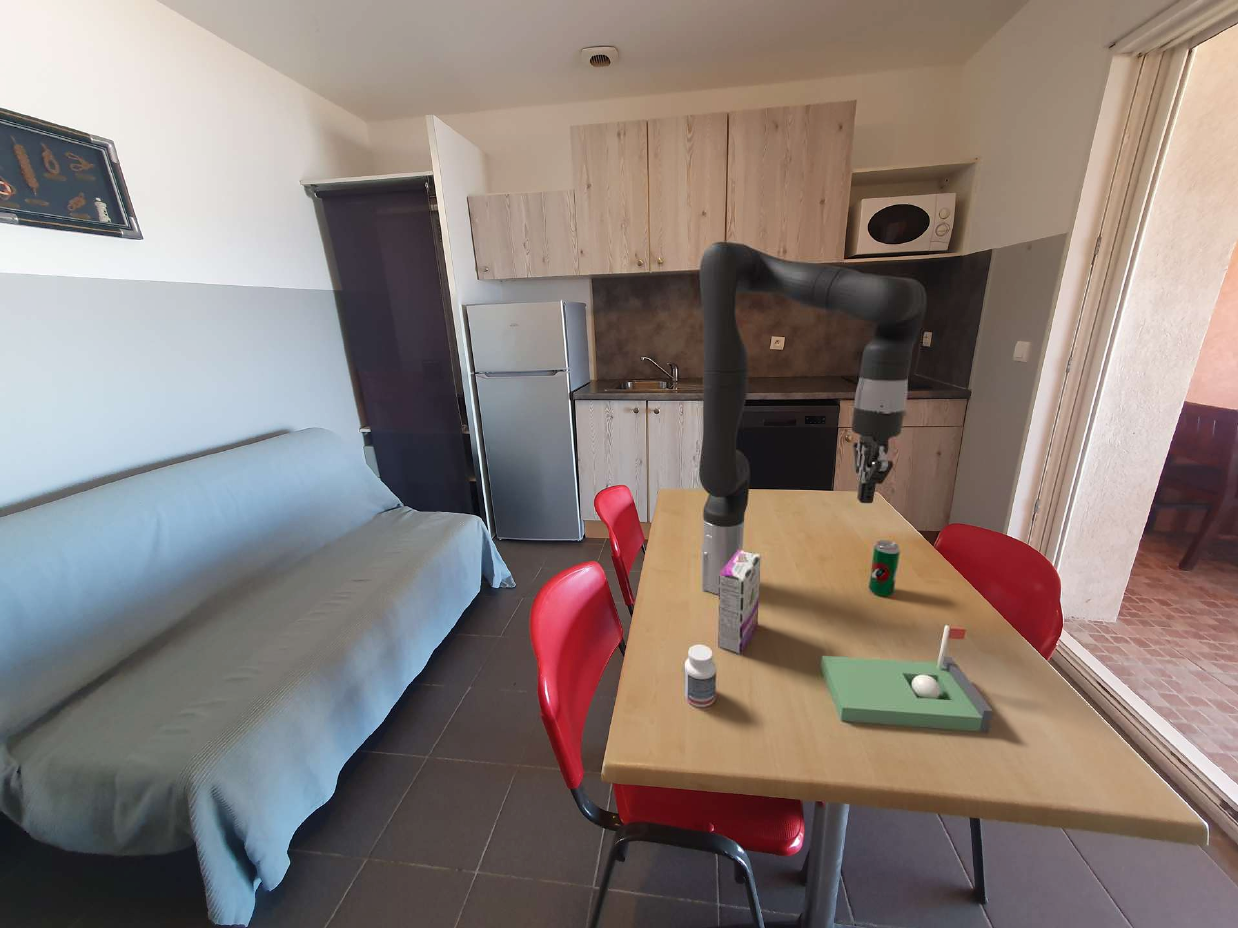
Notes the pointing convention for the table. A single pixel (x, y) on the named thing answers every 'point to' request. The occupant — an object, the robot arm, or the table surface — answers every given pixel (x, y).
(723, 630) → the candy bar box
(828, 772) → the table surface
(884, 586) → the soda can
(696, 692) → the pill bottle
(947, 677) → the green
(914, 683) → the ball
